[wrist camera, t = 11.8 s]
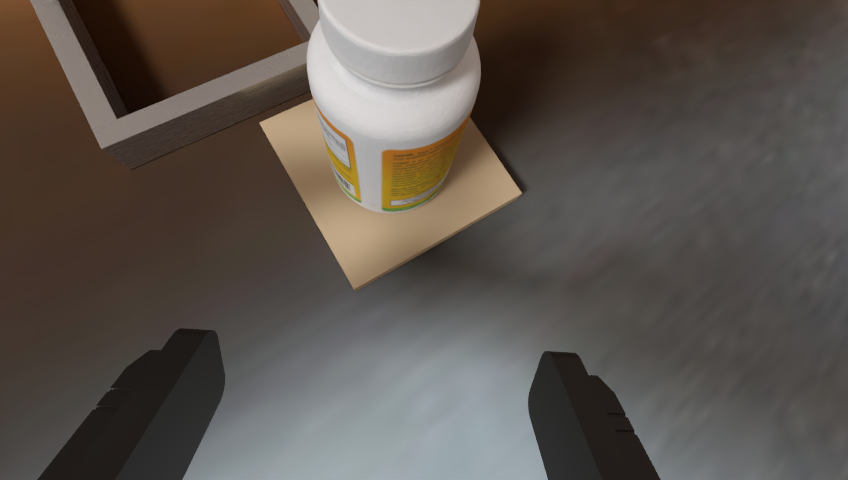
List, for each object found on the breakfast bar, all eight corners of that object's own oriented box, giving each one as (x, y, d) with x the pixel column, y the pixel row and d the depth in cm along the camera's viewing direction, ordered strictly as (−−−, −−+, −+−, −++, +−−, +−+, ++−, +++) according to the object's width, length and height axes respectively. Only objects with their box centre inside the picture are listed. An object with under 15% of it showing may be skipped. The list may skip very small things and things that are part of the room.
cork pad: (264, 131, 20) (259, 122, 19) (422, 60, 22) (424, 49, 21) (355, 291, 18) (354, 289, 17) (516, 199, 20) (522, 193, 19)
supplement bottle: (461, 132, 20) (533, -61, 10) (427, 232, 18) (476, 112, 9) (356, 96, 20) (334, -132, 10) (313, 193, 18) (243, 30, 9)
